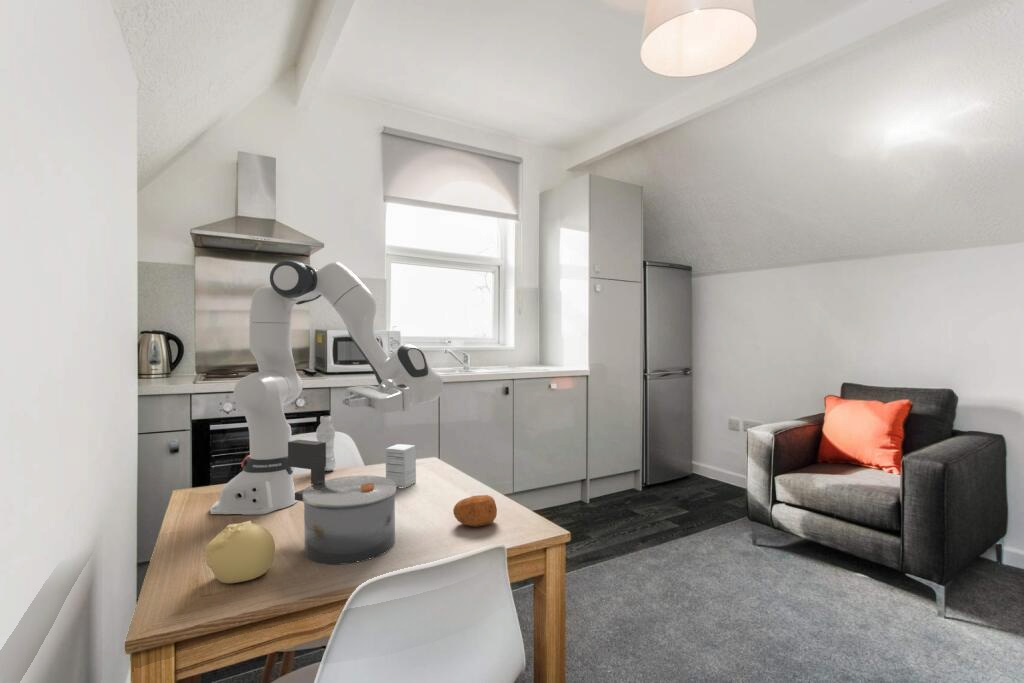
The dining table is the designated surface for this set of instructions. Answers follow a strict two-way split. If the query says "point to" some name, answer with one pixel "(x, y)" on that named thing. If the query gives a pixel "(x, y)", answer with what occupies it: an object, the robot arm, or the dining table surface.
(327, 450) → the plastic bottle
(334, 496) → the cooker lid
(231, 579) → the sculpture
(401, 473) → the supplement box
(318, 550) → the cooker pot
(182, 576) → the dining table surface
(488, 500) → the potato
